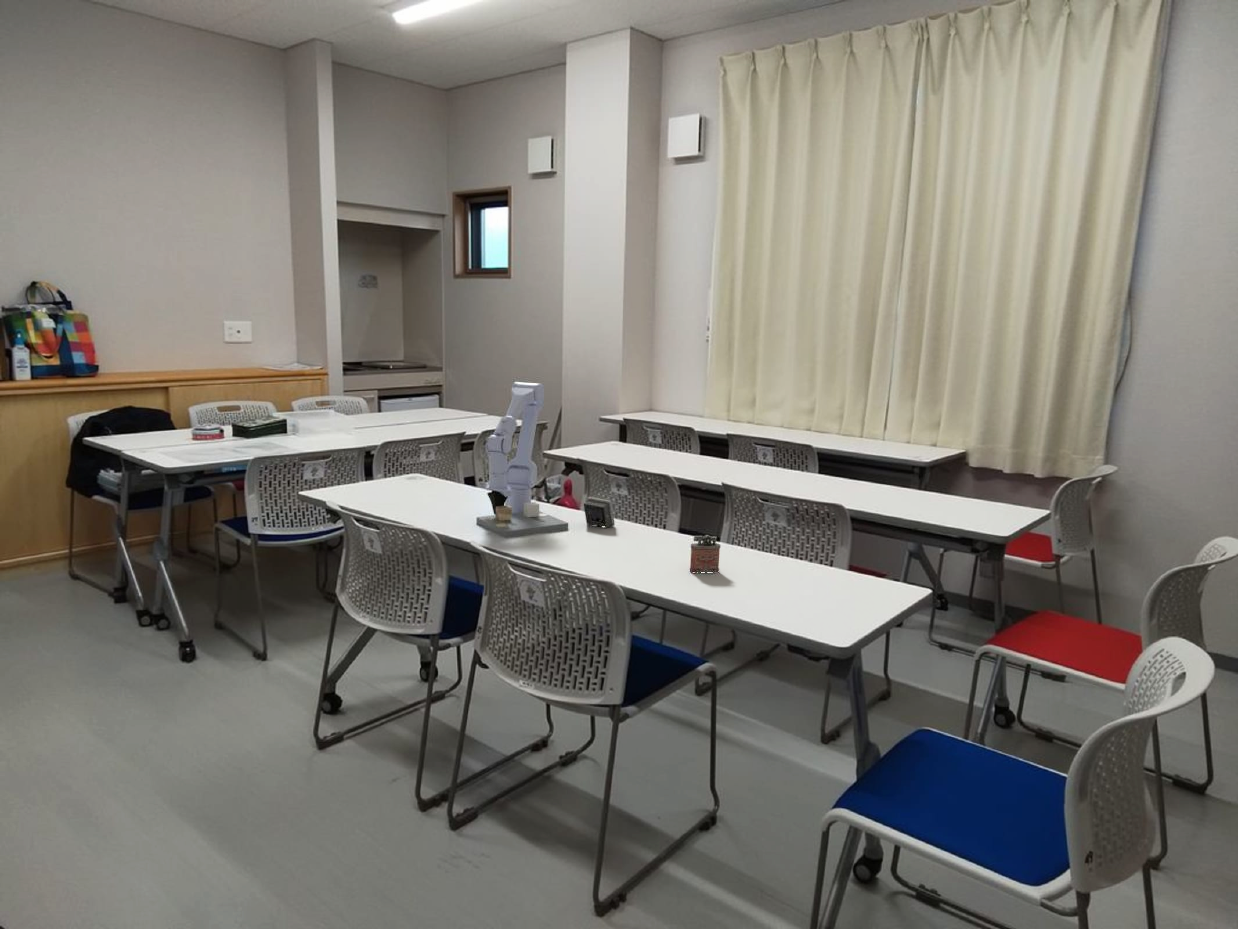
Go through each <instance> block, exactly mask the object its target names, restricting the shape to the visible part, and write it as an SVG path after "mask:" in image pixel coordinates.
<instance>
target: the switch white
mask: <svg viewBox="0 0 1238 929" xmlns="http://www.w3.org/2000/svg"><path fill="white" fill-rule="evenodd" d="M539 511H540V503H537V502H535V501H534V502H532V501H531V503H524V516H526V517H536V516H539Z"/></svg>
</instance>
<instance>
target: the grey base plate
mask: <svg viewBox="0 0 1238 929" xmlns="http://www.w3.org/2000/svg"><path fill="white" fill-rule="evenodd" d="M477 523H478V524H477ZM476 524H477V525H480V526H481V527H483V526H484V527H483V528H485V529H486V530H489V531H490V532H493V533H495V534H497V535H499V536H501V537H503V538H505V539H507V538H515V537H516V538H517V537H522V536H530V535H535V534H536V535H537V533H538V534H543V533H551V532H558V531H565V530H569V522H567V521H564V520H561V519H559V518H557V517H555V516H553V515H550V514H547V513H545V512H543V511H540V510H539V516H536V517H526V516H524V512H516V513H512V515H511V520H504V521H499V520H497V519H496V515H495V514H493V515H484V516H477V517H476Z"/></svg>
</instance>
